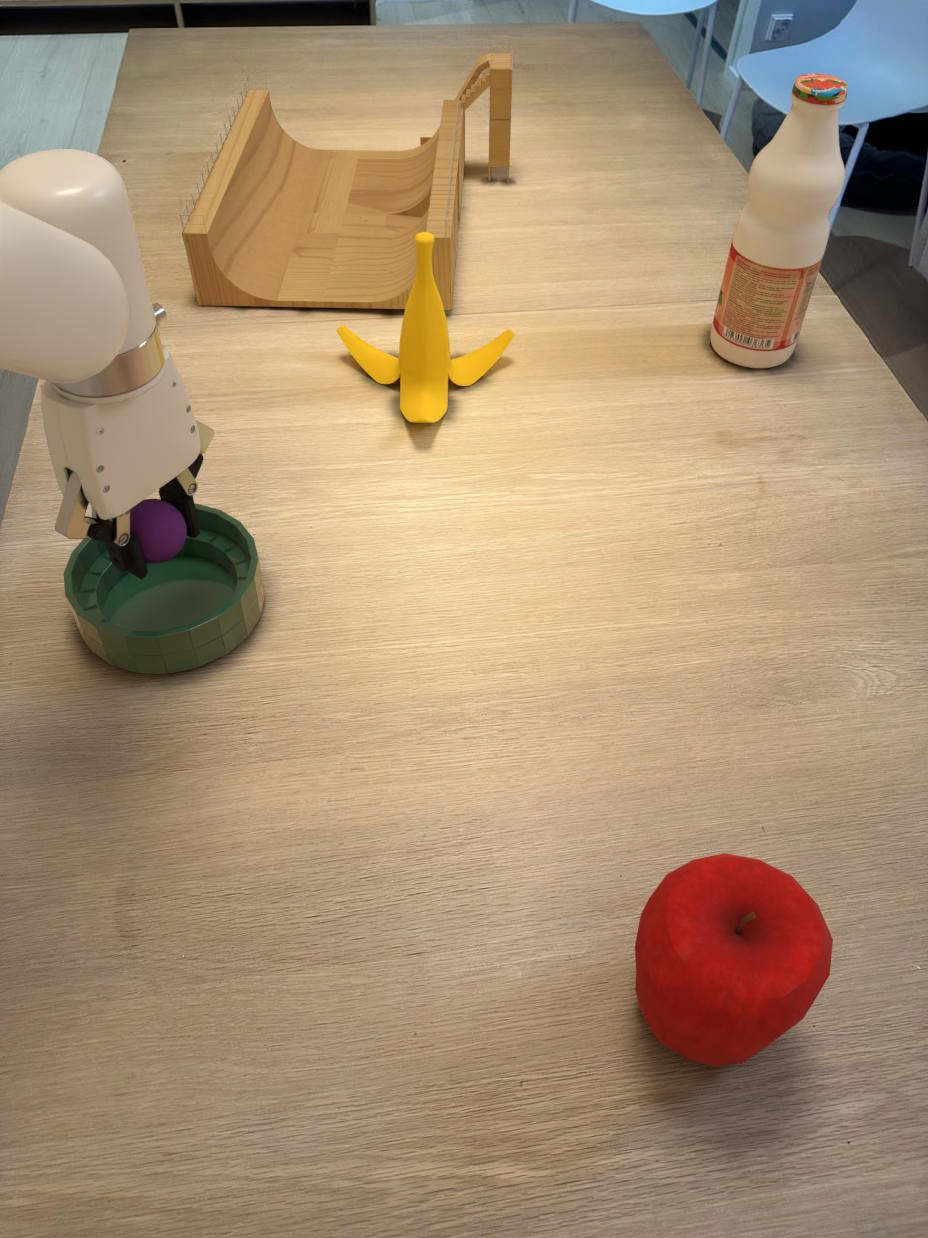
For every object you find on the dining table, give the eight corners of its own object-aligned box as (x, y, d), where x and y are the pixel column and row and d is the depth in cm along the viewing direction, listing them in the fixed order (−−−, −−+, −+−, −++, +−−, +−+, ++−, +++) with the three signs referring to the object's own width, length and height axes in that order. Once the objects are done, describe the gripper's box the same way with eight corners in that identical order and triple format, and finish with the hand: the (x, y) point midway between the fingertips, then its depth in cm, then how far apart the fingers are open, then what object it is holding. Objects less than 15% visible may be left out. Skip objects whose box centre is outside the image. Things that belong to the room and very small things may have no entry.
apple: (751, 921, 69) (807, 815, 58) (808, 1079, 62) (883, 990, 52) (598, 942, 67) (629, 837, 57) (640, 1106, 60) (683, 1020, 50)
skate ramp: (259, 159, 145) (240, 35, 133) (509, 163, 144) (513, 38, 132) (198, 312, 118) (168, 173, 106) (506, 317, 117) (510, 178, 105)
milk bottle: (732, 376, 111) (803, 107, 90) (694, 330, 116) (751, 67, 96) (809, 363, 113) (895, 97, 92) (767, 318, 119) (839, 58, 98)
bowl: (123, 707, 79) (108, 666, 75) (52, 588, 87) (36, 546, 83) (297, 625, 85) (291, 584, 81) (215, 522, 93) (207, 479, 89)
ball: (143, 585, 79) (128, 538, 75) (117, 547, 82) (102, 500, 78) (202, 559, 81) (191, 513, 77) (175, 523, 84) (163, 477, 80)
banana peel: (339, 350, 112) (328, 201, 99) (512, 354, 112) (523, 207, 100) (325, 445, 101) (311, 292, 88) (517, 449, 101) (530, 297, 89)
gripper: (158, 280, 74) (200, 474, 87) (-42, 393, 64) (40, 592, 78) (235, 315, 71) (266, 510, 84) (38, 438, 61) (109, 636, 75)
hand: (157, 547), depth 81 cm, fingers closed on ball, 4 cm apart
